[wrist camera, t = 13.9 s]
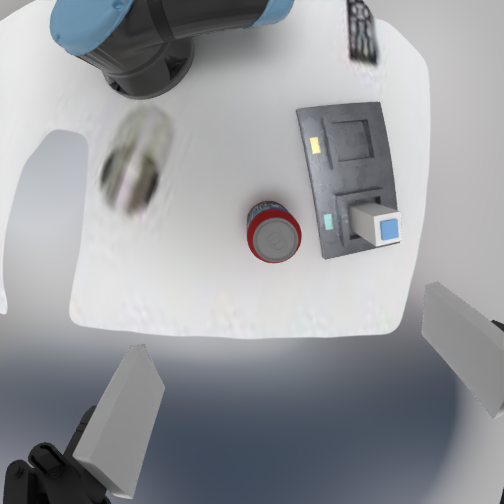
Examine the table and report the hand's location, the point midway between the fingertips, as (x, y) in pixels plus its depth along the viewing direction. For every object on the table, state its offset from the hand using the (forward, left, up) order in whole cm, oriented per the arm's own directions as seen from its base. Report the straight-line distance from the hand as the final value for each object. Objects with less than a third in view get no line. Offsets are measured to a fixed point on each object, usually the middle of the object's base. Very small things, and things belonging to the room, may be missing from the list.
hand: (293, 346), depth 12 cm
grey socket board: (-3, +16, -35) cm, 38 cm away
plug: (+3, +16, -33) cm, 37 cm away
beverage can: (+2, +1, -35) cm, 35 cm away
